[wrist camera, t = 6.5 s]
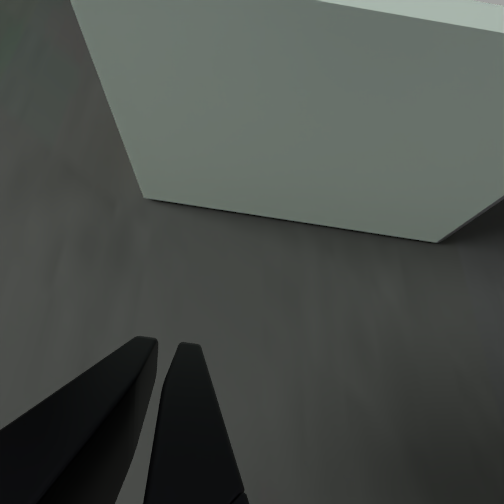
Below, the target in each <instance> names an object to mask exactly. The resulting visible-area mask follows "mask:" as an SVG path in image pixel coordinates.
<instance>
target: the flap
mask: <svg viewBox="0 0 504 504" xmlns="http://www.w3.org/2000/svg"><path fill="white" fill-rule="evenodd" d="M70 1H71V4H72V6H73V9H74V12H75V14H76V17H77V20H78V23H79V25H80V28H81V31H82V33H83V36H84V39H85V41H86V44H87V47H88V49H89V52H90V55H91V57H92V60H93V63H94V65H95V68H96V71H97V73H98V76H99V79H100V82H101V84H102V87H103V90H104V92H105V95H106V98H107V100H108V103H109V106H110V108H111V111H112V114H113V116H114V119H115V122H116V124H117V127H118V130H119V133H120V135H121V138H122V141H123V143H124V146H125V149H126V151H127V154H128V157H129V159H130V162H131V165H132V167H133V170H134V173H135V175H136V178H137V181H138V184H139V186H140V189H141V192H142V194H143V197H144V198H148V199H155V200H161V201H168V202H174V203H181V204H187V205H194V206H200V207H207V208H213V209H220V210H226V211H233V212H239V213H246V214H252V215H259V216H265V217H272V218H278V219H285V220H291V221H298V222H304V223H311V224H317V225H324V226H330V227H337V228H343V229H350V230H356V231H363V232H369V233H376V234H382V235H389V236H396V237H402V238H409V239H415V240H422V241H428V242H435V243H440V242H442V241H443V240H445V239H446V238H448V237H449V236H451V235H452V234H454V233H455V232H456V231H458V230H459V229H461V228H462V227H464V226H465V225H467V224H468V223H470V222H471V221H472V220H474V219H475V218H477V217H478V216H480V215H481V214H483V213H484V212H486V211H487V210H489V209H490V208H491V207H493V206H494V205H496V204H497V203H499V202H500V201H502V200H503V199H504V6H501V5H496V4H490V3H484V2H479V1H473V0H70Z"/></svg>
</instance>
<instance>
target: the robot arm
mask: <svg viewBox="0 0 504 504" xmlns="http://www.w3.org/2000/svg"><path fill="white" fill-rule="evenodd" d="M157 357H158V341H157V339H156V338H151V337H144V336H137V337H134V338H133V339H132V340H130V341H129V342H127V343H126V344H124V345H123V346H121V347H120V348H118V349H117V350H116V351H114V352H113V353H111V354H110V355H108V356H107V357H105V358H104V359H103V360H101V361H100V362H98V363H97V364H95V365H94V366H92V367H91V368H89V369H88V370H87V371H85V372H84V373H82V374H81V375H79V376H78V377H76V378H75V379H74V380H72V381H71V382H69V383H68V384H66V385H65V386H63V387H62V388H60V389H59V390H58V391H56V392H55V393H53V394H52V395H50V396H49V397H47V398H46V399H45V400H43V401H42V402H40V403H39V404H37V405H36V406H34V407H33V408H31V409H30V410H29V411H27V412H26V413H24V414H23V415H21V416H20V417H18V418H17V419H16V420H14V421H13V422H11V423H10V424H8V425H7V426H5V427H4V428H2V429H1V430H0V504H115V502H116V499H117V497H118V494H119V492H120V489H121V487H122V485H123V482H124V480H125V477H126V475H127V472H128V470H129V467H130V464H131V462H132V459H133V456H134V453H135V450H136V446H137V443H138V440H139V436H140V433H141V429H142V425H143V422H144V418H145V415H146V411H147V408H148V404H149V401H150V397H151V394H152V390H153V386H154V383H155V378H156V372H157ZM143 504H249V502H248V498H247V495H246V494H245V493H244V486H243V483H242V480H241V476H240V473H239V470H238V466H237V463H236V460H235V457H234V453H233V450H232V447H231V443H230V440H229V437H228V434H227V430H226V427H225V424H224V420H223V417H222V414H221V411H220V407H219V404H218V401H217V398H216V394H215V391H214V388H213V384H212V381H211V378H210V375H209V371H208V368H207V365H206V361H205V358H204V355H203V352H202V348H201V346H200V345H199V344H193V343H186V342H182V343H180V344H179V345H178V348H177V350H176V353H175V355H174V358H173V360H172V363H171V365H170V368H169V370H168V373H167V375H166V378H165V381H164V384H163V387H162V392H161V398H160V404H159V410H158V416H157V422H156V428H155V434H154V441H153V447H152V453H151V459H150V465H149V471H148V477H147V483H146V490H145V496H144V502H143Z"/></svg>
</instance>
